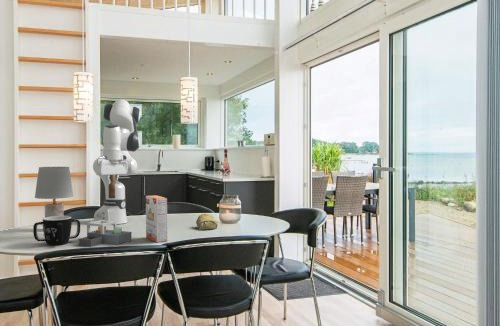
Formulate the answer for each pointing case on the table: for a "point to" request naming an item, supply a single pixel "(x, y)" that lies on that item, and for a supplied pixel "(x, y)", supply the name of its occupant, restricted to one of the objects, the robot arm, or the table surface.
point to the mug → (56, 230)
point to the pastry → (206, 222)
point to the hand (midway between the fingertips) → (111, 183)
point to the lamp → (54, 188)
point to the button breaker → (100, 229)
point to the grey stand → (108, 232)
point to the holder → (90, 241)
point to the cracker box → (156, 218)
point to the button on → (117, 230)
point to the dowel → (112, 186)
